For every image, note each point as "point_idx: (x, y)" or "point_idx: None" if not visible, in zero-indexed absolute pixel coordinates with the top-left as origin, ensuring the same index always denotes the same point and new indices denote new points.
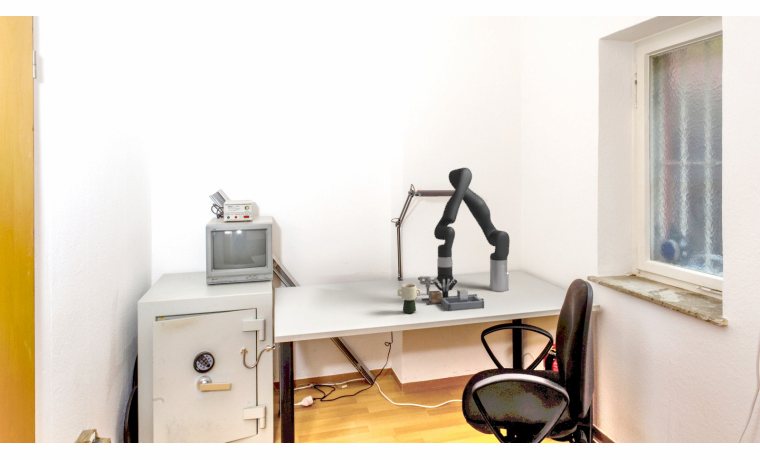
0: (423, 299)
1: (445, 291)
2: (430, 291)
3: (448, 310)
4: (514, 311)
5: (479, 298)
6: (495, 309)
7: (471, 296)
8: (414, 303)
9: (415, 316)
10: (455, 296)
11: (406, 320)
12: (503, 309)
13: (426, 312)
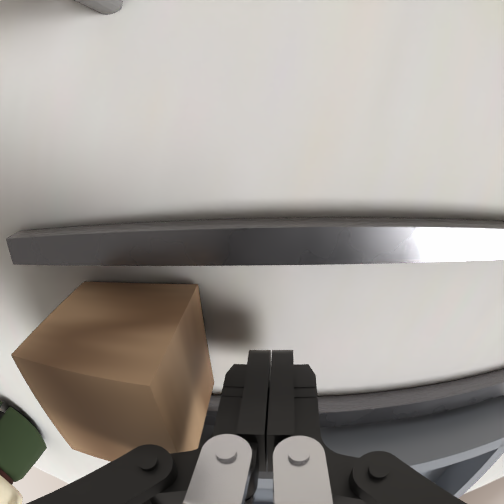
0: (24, 261)
1: (268, 460)
2: (27, 373)
3: None
4: (495, 477)
5: (478, 479)
6: None
7: (482, 453)
8: (25, 473)
9: (62, 463)
10: (466, 260)
11: (46, 467)
12: (490, 469)
13: (97, 460)
